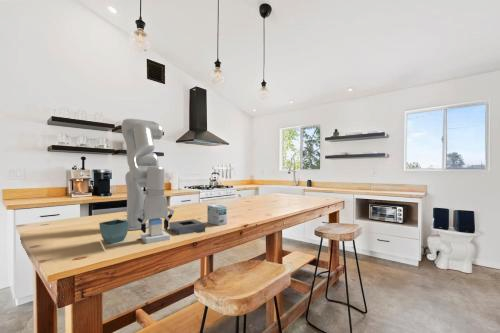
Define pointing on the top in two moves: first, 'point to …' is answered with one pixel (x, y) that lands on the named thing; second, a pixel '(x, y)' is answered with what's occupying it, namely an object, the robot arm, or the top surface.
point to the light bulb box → (217, 214)
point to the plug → (155, 227)
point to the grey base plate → (155, 237)
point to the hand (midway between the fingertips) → (155, 230)
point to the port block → (187, 226)
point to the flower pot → (114, 230)
